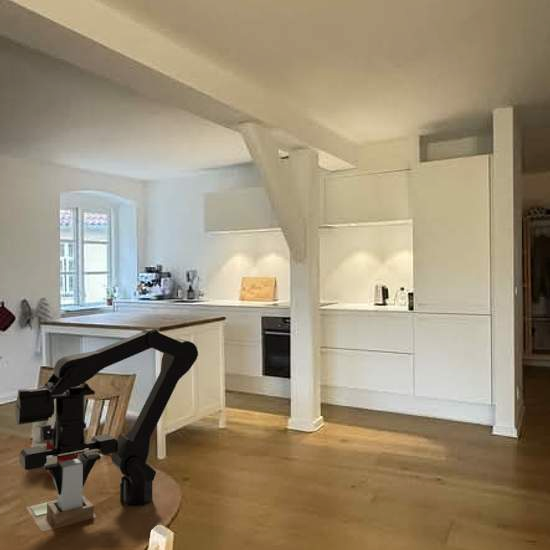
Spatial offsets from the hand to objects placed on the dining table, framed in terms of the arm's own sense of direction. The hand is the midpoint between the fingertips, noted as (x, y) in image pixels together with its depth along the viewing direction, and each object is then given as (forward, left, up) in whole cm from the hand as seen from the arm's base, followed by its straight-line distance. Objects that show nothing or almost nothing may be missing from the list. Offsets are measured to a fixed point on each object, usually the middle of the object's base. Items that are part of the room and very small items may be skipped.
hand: (70, 491), depth 112 cm
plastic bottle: (+36, -27, -6) cm, 46 cm away
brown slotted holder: (+3, -1, -6) cm, 7 cm away
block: (0, 0, -3) cm, 3 cm away
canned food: (+22, -20, -6) cm, 30 cm away
